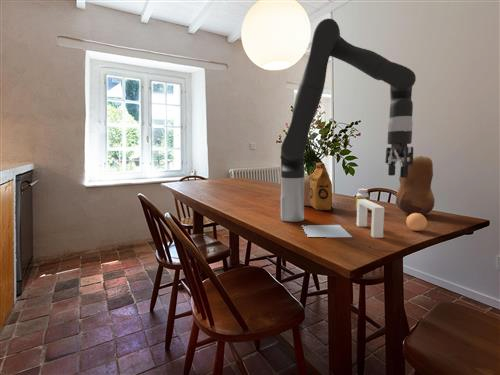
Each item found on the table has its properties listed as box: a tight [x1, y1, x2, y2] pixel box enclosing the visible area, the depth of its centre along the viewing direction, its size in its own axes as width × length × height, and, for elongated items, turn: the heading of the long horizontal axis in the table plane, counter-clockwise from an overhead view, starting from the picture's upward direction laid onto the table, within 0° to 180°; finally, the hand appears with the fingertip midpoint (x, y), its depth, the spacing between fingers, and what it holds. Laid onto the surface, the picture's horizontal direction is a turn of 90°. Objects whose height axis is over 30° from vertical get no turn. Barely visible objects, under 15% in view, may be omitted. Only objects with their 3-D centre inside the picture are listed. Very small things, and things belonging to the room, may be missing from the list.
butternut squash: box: [395, 155, 435, 216], centre depth 115 cm, size 14×13×25 cm
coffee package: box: [308, 162, 333, 211], centre depth 132 cm, size 10×12×22 cm
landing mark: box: [300, 224, 353, 238], centre depth 95 cm, size 14×14×1 cm
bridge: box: [356, 199, 385, 239], centre depth 94 cm, size 3×15×10 cm, turn 178°
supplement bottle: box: [355, 188, 370, 212], centre depth 126 cm, size 5×5×10 cm
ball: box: [405, 213, 428, 232], centre depth 94 cm, size 6×6×6 cm
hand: (397, 176), depth 99 cm, fingers open, 8 cm apart
